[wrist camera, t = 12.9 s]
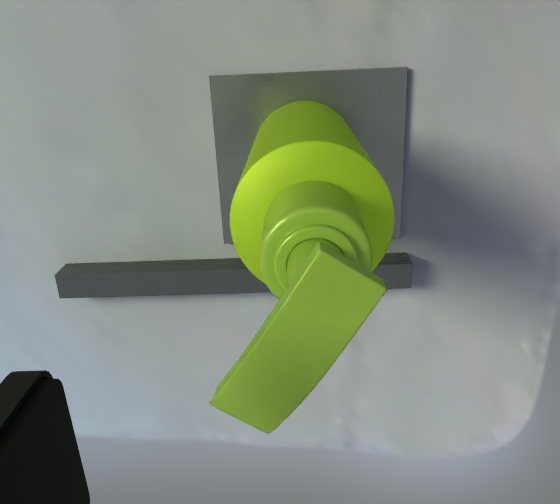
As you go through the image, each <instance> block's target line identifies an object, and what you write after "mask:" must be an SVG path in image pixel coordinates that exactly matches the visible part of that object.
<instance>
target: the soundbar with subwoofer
mask: <svg viewBox="0 0 560 504" xmlns="http://www.w3.org/2000/svg"><path fill="white" fill-rule="evenodd" d="M407 68H408V67H398V68H375V69H353V70H331V71H309V72H287V73H265V74H243V75H221V76H209V79H210V91H211V102H212V113H213V124H214V135H215V147H216V158H217V169H218V180H219V191H220V203H221V214H222V225H223V236H224V243H233V240H232V236H231V231H230V209H231V203H232V199H233V196H234V193H235V191H236V188H237V185H238V183H239V180H240V178H241V175H242V172H243V170H244V167H245V165H246V162H247V159H248V157H249V154H250V151H251V149H252V146H253V144H254V141H255V138H256V136H257V133H258V131H259V129H260V127H261V125H262V124H263V122H264V121H265V119H266V118H267V117H268V116H269V115H270V114H271V113H272V112H274V111H275V110H276V109H278V108H280V107H281V106H283V105H286V104H288V103H292V102H296V101H314V102H318V103H321V104H324V105H326V106H328V107H330V108H332V109H333V110H335V111H336V112H337V113H338V114H339V115H340V116H341V117H342V118H343V119H344V120H345V122H346V123H347V125H348V126H349V128H350V129H351V131H352V132H353V134H354V135H355V137H356V138H357V140H358V141H359V143H360V144H361V146H362V147H363V149H364V150H365V151H366V153H367V154H368V156H369V157H370V159H371V160H372V162H373V163H374V165H375V166H376V168H377V169H378V171H379V172H380V174H381V175H382V177H383V179H384V180H385V182H386V184H387V186H388V188H389V191H390V194H391V197H392V201H393V206H394V229H393V234H392V238H400V233H401V209H402V186H403V162H404V139H405V115H406V92H407ZM372 273H374V274H375V275H377V276H379V277H380V278H382V279H383V280H384V283H385V285H386V288H387V289H392V288H411V277H412V263H411V261H410V259H409V257H408V255H407V253H389V254H385V255H384V257H383V258H382V260H381V261H380V263H379V264H378V265H377V267H376V268H375V269H374V270H373V271H372ZM55 279H56V283H57V288H58V292H59V297H60V298H85V297H119V296H154V295H188V294H222V293H256V292H271V291H270V289H269V288H268V287H267V285H266V284H265V283H263V282H262V281H261V280H259V279H258V278H257V277H256V276H254V275H253V274H252V273H251V272H250V270H249V269H248V268H247V267H246V266H245V264H244V263H243V262H242V260H241V258H233V259H201V260H170V261H139V262H107V263H76V264H66V265H65V266H64V267H63V268H62V269H60V270H59V271H58V272H57V273H56V274H55Z"/></svg>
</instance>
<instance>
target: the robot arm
mask: <svg viewBox="0 0 560 504" xmlns="http://www.w3.org/2000/svg"><path fill="white" fill-rule="evenodd" d="M0 504H90V497H89V491H88V487H87V482H86V478H85V474H84V470H83V466H82V462H81V458H80V454H79V450H78V446H77V442H76V438H75V433H74V429H73V425H72V421H71V417H70V413H69V409H68V405H67V401H66V397H65V393H64V389H63V385H62V382H61V381H60V380H59V379H53V378H52V375H51V374H50V373H49V372H48V371H16V372H11V373H10V374H9V375H8V376H6V378H5V379H4V380H3V381H2V383H1V384H0Z"/></svg>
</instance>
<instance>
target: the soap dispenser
mask: <svg viewBox="0 0 560 504" xmlns="http://www.w3.org/2000/svg"><path fill="white" fill-rule="evenodd" d="M393 229H394V206H393V201H392V197H391V194H390V191H389V188H388V186H387V184H386V182H385V180H384V179H383V177H382V175H381V174H380V172H379V171H378V169H377V168H376V166H375V165H374V163H373V162H372V160H371V159H370V157H369V156H368V154H367V153H366V151H365V150H364V149H363V147H362V146H361V144H360V143H359V141H358V140H357V138H356V137H355V135H354V134H353V132H352V131H351V129H350V128H349V126H348V125H347V123H346V122H345V120H344V119H343V118H342V117H341V116H340V115H339V114H338V113H337V112H336V111H335V110H333V109H332V108H330V107H328V106H326V105H324V104H321V103H318V102H314V101H296V102H292V103H288V104H286V105H283V106H281V107H280V108H278V109H276V110H275V111H274V112H272V113H271V114H270V115H269V116H268V117H267V118H266V119H265V121H264V122H263V124H262V125H261V127H260V129H259V131H258V133H257V136H256V138H255V141H254V144H253V146H252V149H251V151H250V154H249V157H248V159H247V162H246V165H245V167H244V170H243V172H242V175H241V178H240V180H239V183H238V185H237V188H236V191H235V193H234V196H233V199H232V203H231V209H230V231H231V236H232V240H233V243H234V246H235V249H236V251H237V253H238V255H239V257H240V258H241V260H242V262H243V263H244V264H245V266H246V267H247V268H248V269H249V270H250V272H251V273H252V274H253V275H254V276H256V277H257V278H258V279H259V280H261V281H262V282H263V283H265V284H266V285H267V287H268V288H269V289H270V291H271V292H272V293H273V294H274V295H275V296H276V297H277V298H278V299H279V301H278V303H277V304H276V305H275V307H274V308H273V310H272V311H271V313H270V314H269V316H268V317H267V319H266V320H265V322H264V323H263V325H262V326H261V328H260V329H259V331H258V332H257V334H256V335H255V336H254V338H253V339H252V341H251V342H250V344H249V345H248V346H247V348H246V349H245V351H244V352H243V353H242V355H241V356H240V358H239V359H238V360H237V362H236V363H235V364H234V366H233V367H232V368H231V370H230V371H229V372H228V373H227V375H226V376H225V377H224V378H223V380H222V381H221V382H220V384H219V385H218V387H217V389H216V391H215V393H214V395H213V397H212V399H211V402H210V405H212V406H214V407H216V408H217V409H219V410H221V411H223V412H225V413H227V414H229V415H231V416H233V417H235V418H237V419H239V420H241V421H243V422H245V423H247V424H249V425H251V426H253V427H255V428H257V429H259V430H261V431H263V432H265V433H271V432H272V431H273V430H275V429H276V428H277V427H278V426H279V425H280V424H281V423H282V422H283V421H284V420H285V419H286V418H287V417H288V416H289V415H290V414H291V413H292V412H293V411H294V410H295V409H296V408H297V407H298V406H299V405H300V404H301V402H302V401H303V400H304V399H305V398H306V397H307V396H308V395H309V393H310V392H311V391H312V390H313V389H314V387H315V386H316V385H317V384H318V383H319V381H320V380H321V379H322V378H323V376H324V375H325V374H326V373H327V371H328V370H329V369H330V367H331V366H332V365H333V363H334V362H335V361H336V360H337V358H338V357H339V356H340V354H341V353H342V351H343V350H344V349H345V347H346V346H347V345H348V343H349V342H350V341H351V339H352V338H353V336H354V335H355V334H356V332H357V331H358V330H359V328H360V327H361V325H362V324H363V323H364V321H365V320H366V318H367V317H368V316H369V314H370V313H371V311H372V310H373V309H374V307H375V306H376V304H377V303H378V302H379V300H380V299H381V297H382V296H383V295H384V293H385V292H386V290H387V288H386V285H385V283H384V280H383V279H382V278H380V277H379V276H377V275H375V274H374V273H372V271H373V270H374V269H375V268H376V267H377V265H378V264H379V263H380V261H381V260H382V258H383V257H384V255H385V253H386V251H387V249H388V247H389V244H390V241H391V238H392V234H393Z"/></svg>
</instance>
